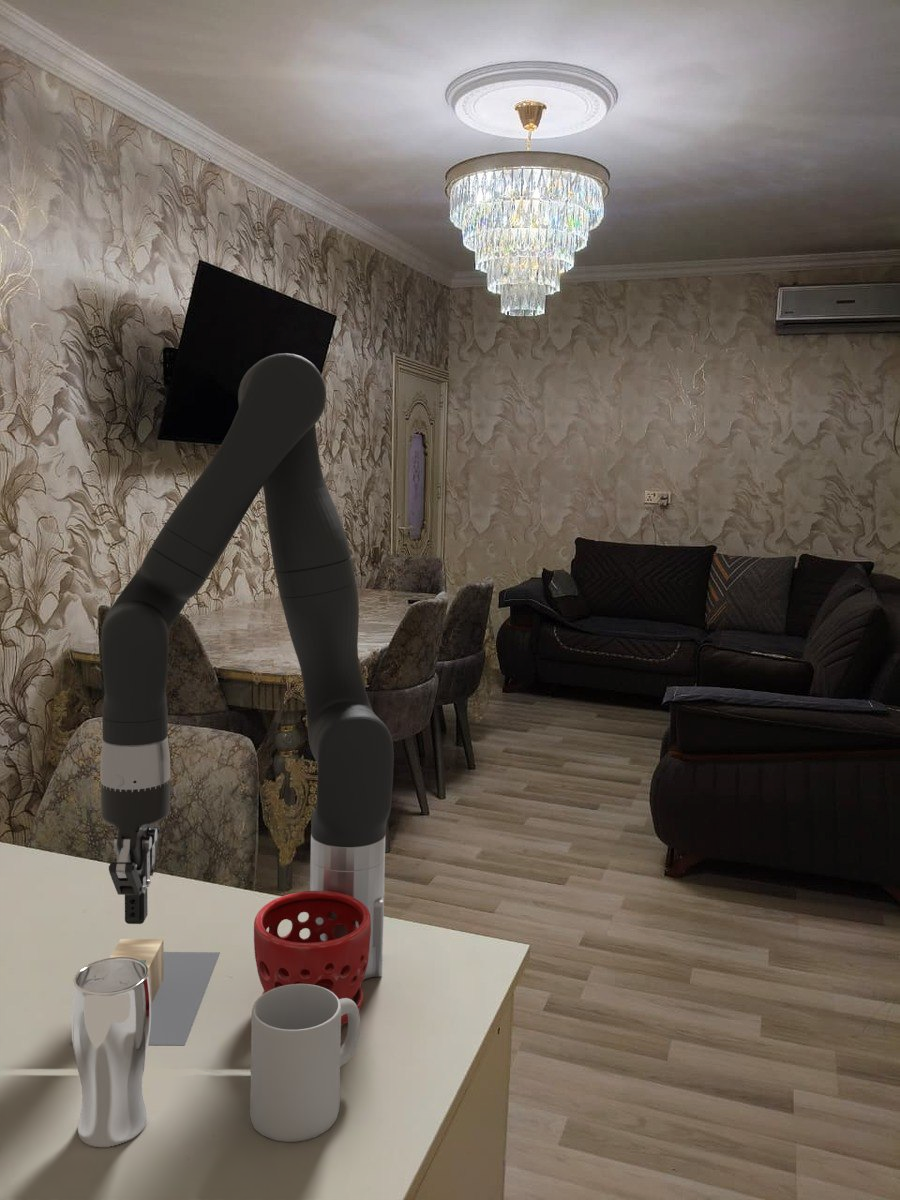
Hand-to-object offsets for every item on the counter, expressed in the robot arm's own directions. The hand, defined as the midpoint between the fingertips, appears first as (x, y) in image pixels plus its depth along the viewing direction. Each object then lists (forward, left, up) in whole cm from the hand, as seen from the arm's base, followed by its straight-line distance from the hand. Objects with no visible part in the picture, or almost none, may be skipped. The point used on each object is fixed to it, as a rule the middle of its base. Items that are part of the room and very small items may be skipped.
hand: (136, 920), depth 110 cm
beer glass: (-4, +23, -9) cm, 25 cm away
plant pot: (-21, +4, -9) cm, 23 cm away
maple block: (0, -2, -6) cm, 6 cm away
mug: (-22, +20, -9) cm, 31 cm away
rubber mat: (-2, +1, -9) cm, 9 cm away
